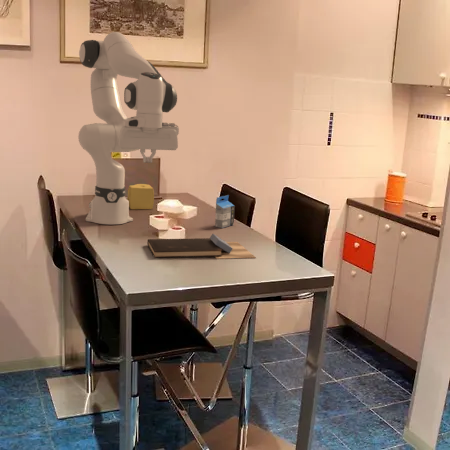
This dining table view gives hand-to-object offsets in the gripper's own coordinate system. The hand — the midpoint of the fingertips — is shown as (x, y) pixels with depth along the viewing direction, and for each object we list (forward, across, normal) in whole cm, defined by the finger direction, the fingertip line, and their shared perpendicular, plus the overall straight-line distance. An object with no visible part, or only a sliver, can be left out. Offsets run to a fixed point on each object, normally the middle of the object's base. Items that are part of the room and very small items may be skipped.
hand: (147, 162), depth 209 cm
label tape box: (+29, -38, -26) cm, 55 cm away
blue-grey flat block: (+27, -25, +10) cm, 38 cm away
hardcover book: (+29, -12, +10) cm, 33 cm away
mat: (+29, -28, +10) cm, 42 cm away
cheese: (+29, -9, -62) cm, 69 cm away
